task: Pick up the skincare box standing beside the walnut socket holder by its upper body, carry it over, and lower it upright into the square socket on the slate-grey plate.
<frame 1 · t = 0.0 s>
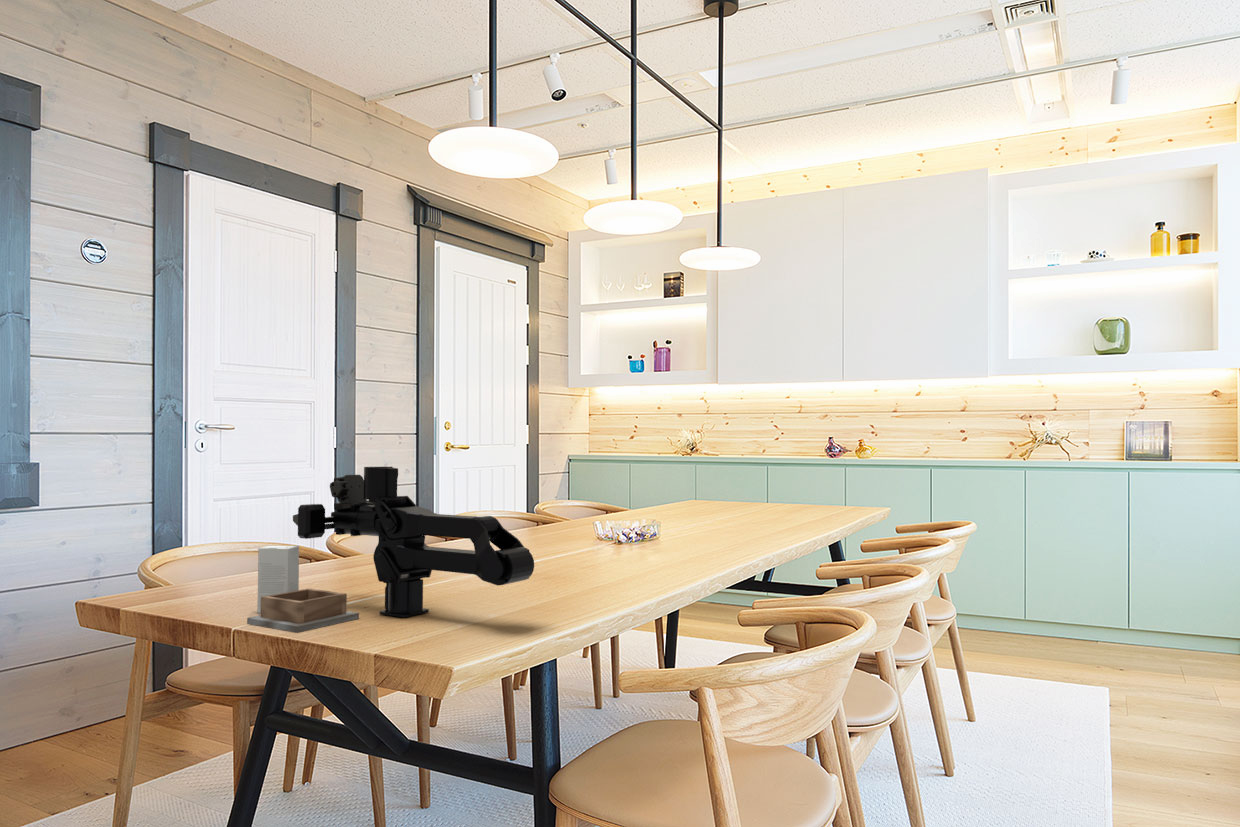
hand: (313, 516, 166), 17 cm above the table, tool horizontal, fingers open, 9 cm apart
socket holder: (303, 621, 145), on the table
skincare box: (277, 612, 153), on the table
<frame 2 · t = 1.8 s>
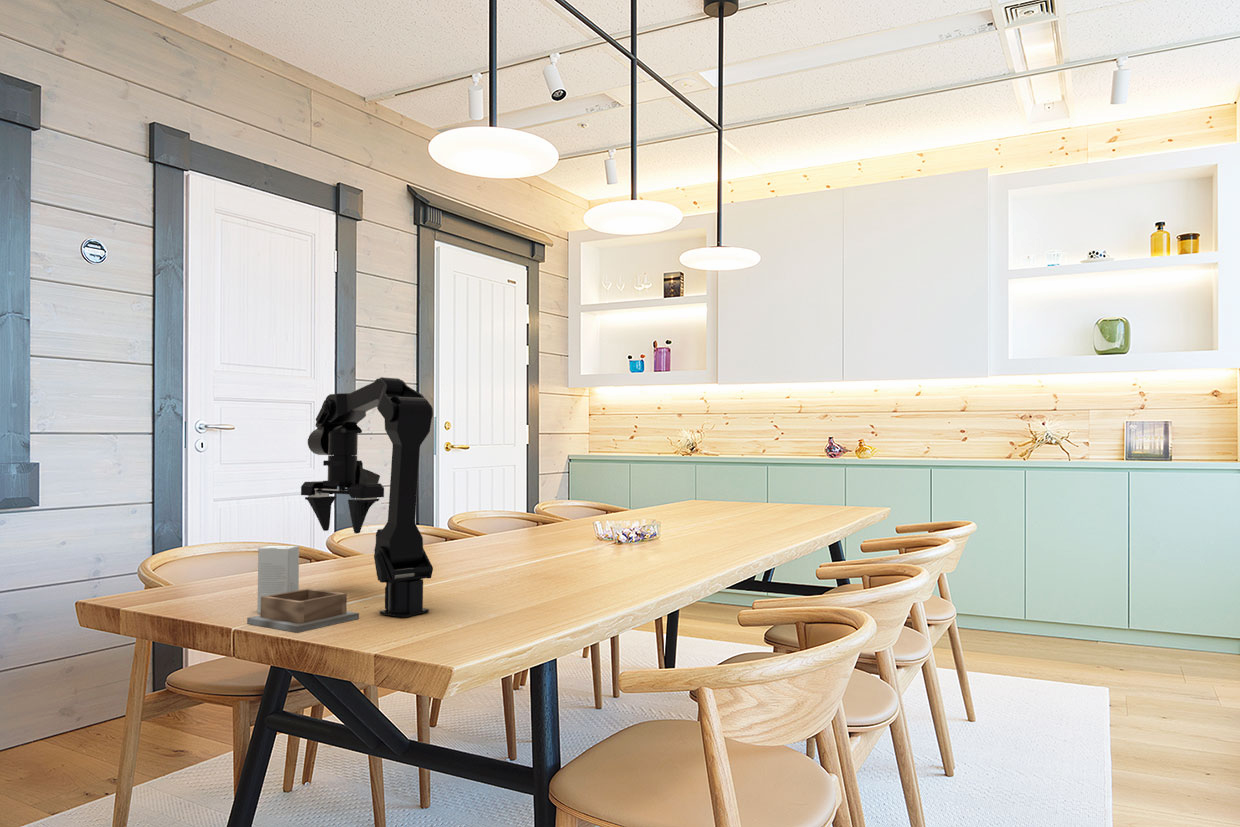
hand: (341, 532, 170), 13 cm above the table, tool pointing down, fingers open, 9 cm apart
nothing on the table moved.
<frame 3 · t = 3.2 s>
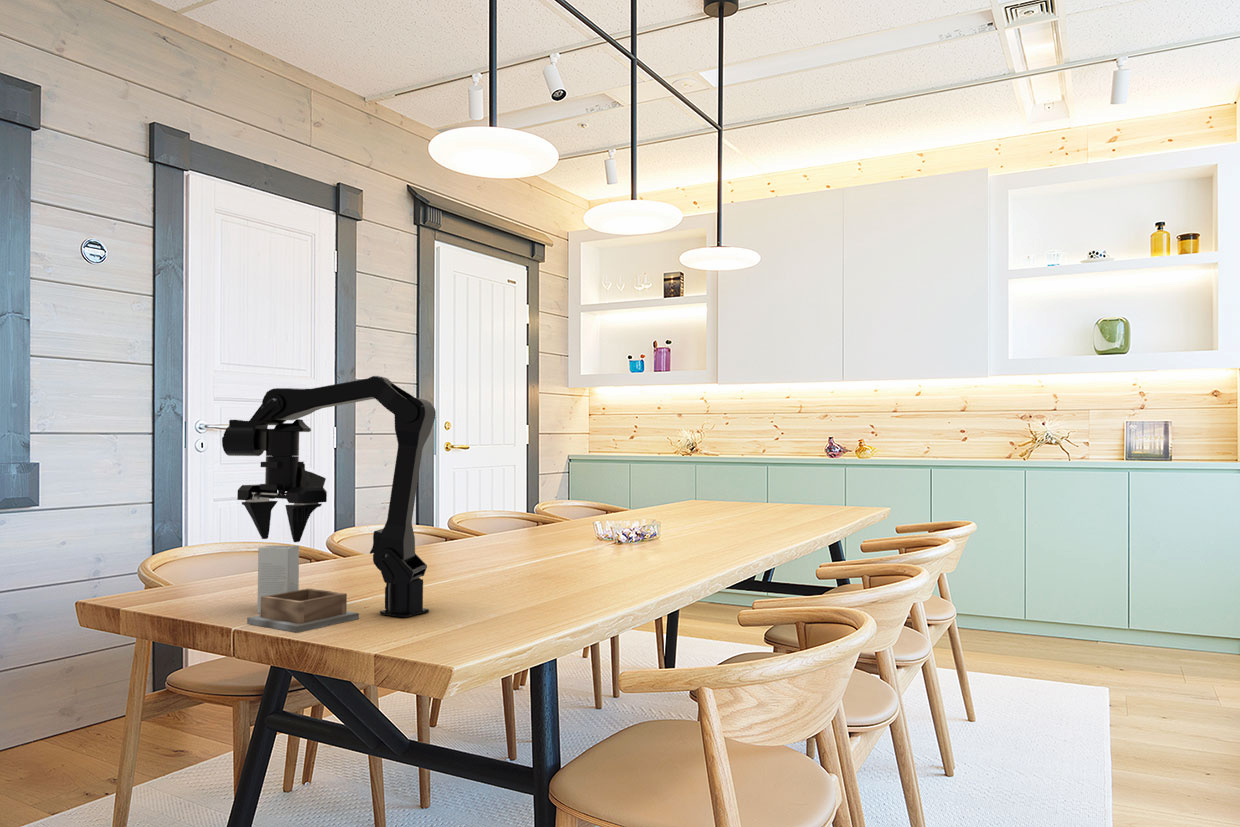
hand: (280, 540, 154), 13 cm above the table, tool pointing down, fingers open, 9 cm apart
nothing on the table moved.
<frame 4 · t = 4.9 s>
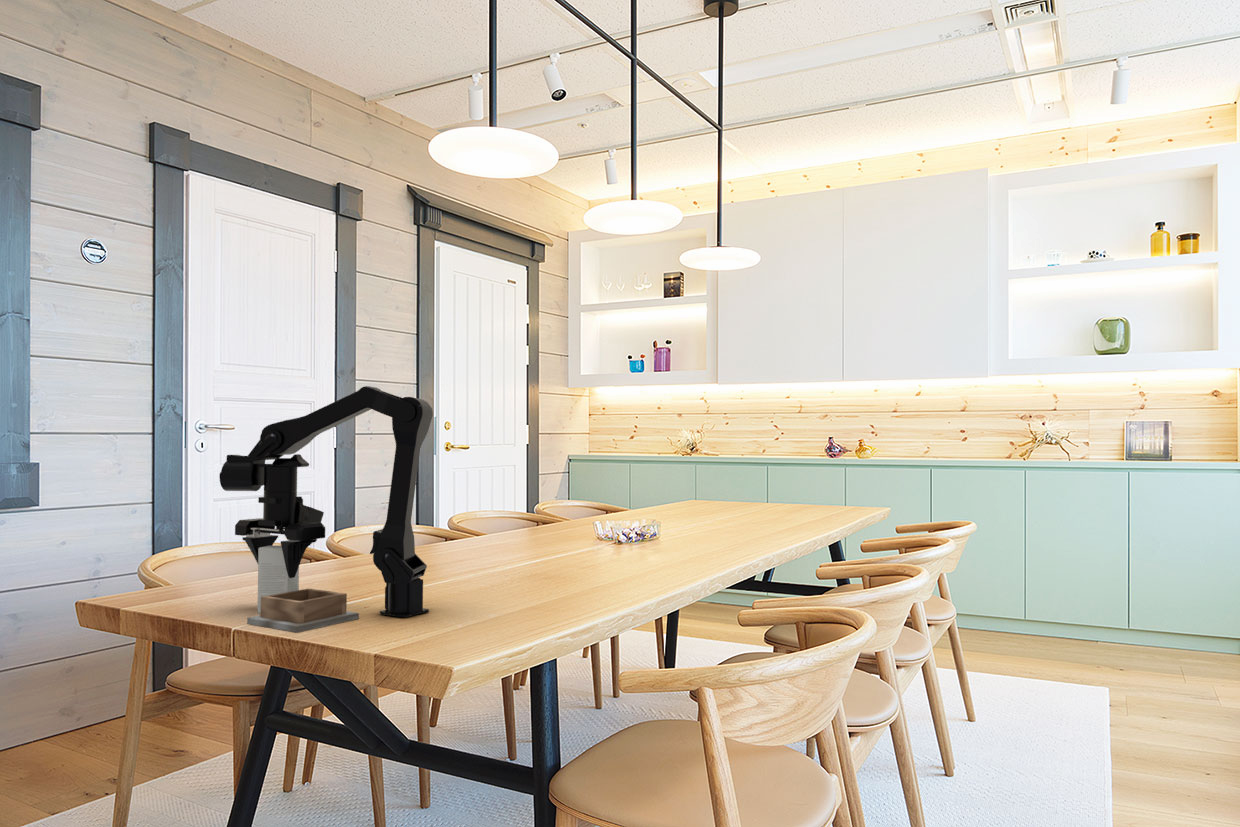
hand: (278, 576, 154), 7 cm above the table, tool pointing down, fingers closed on skincare box, 7 cm apart
skincare box: (277, 612, 153), on the table, touching gripper
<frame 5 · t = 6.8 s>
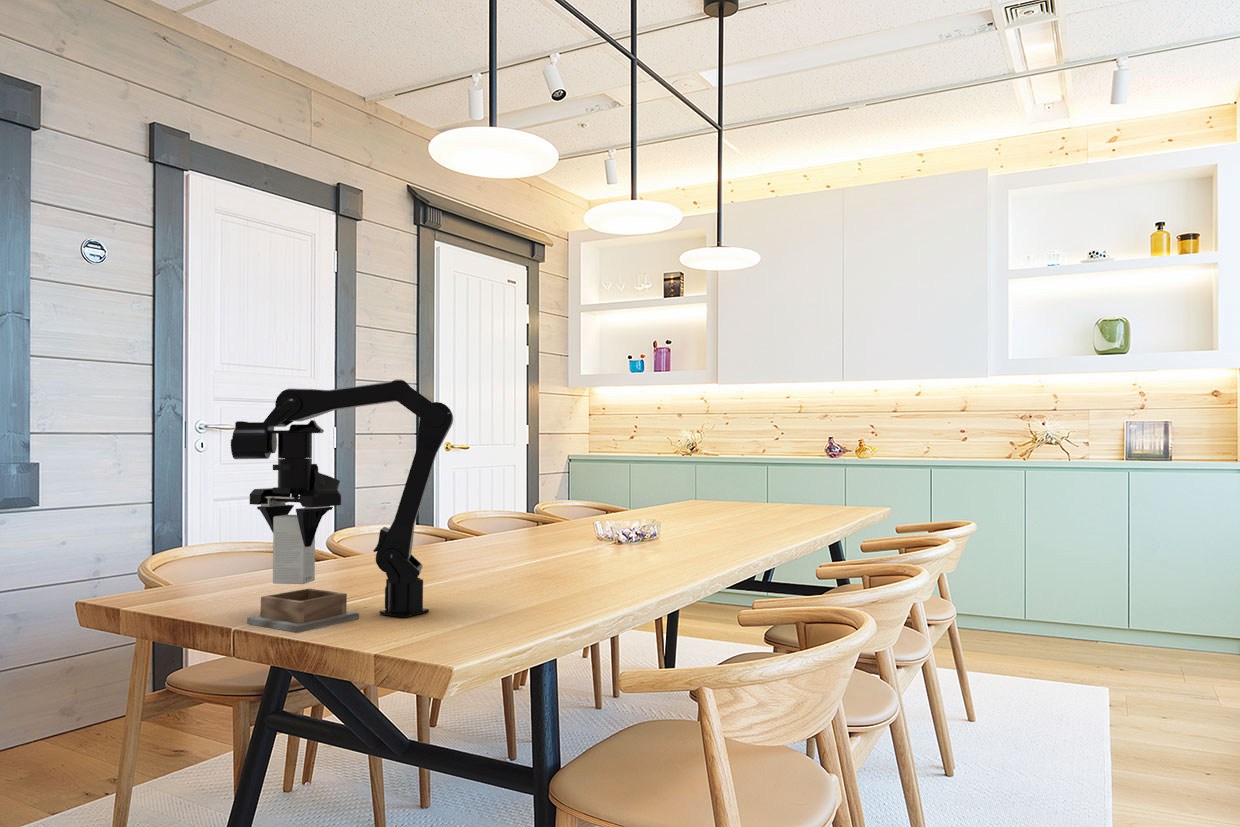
hand: (294, 545, 149), 13 cm above the table, tool pointing down, fingers closed on skincare box, 7 cm apart
skincare box: (293, 583, 149), point 6 cm above the table, touching gripper
when the fingers open (8 cm above the table, at t = 9.1 s): skincare box stays where it is, resting on socket holder.
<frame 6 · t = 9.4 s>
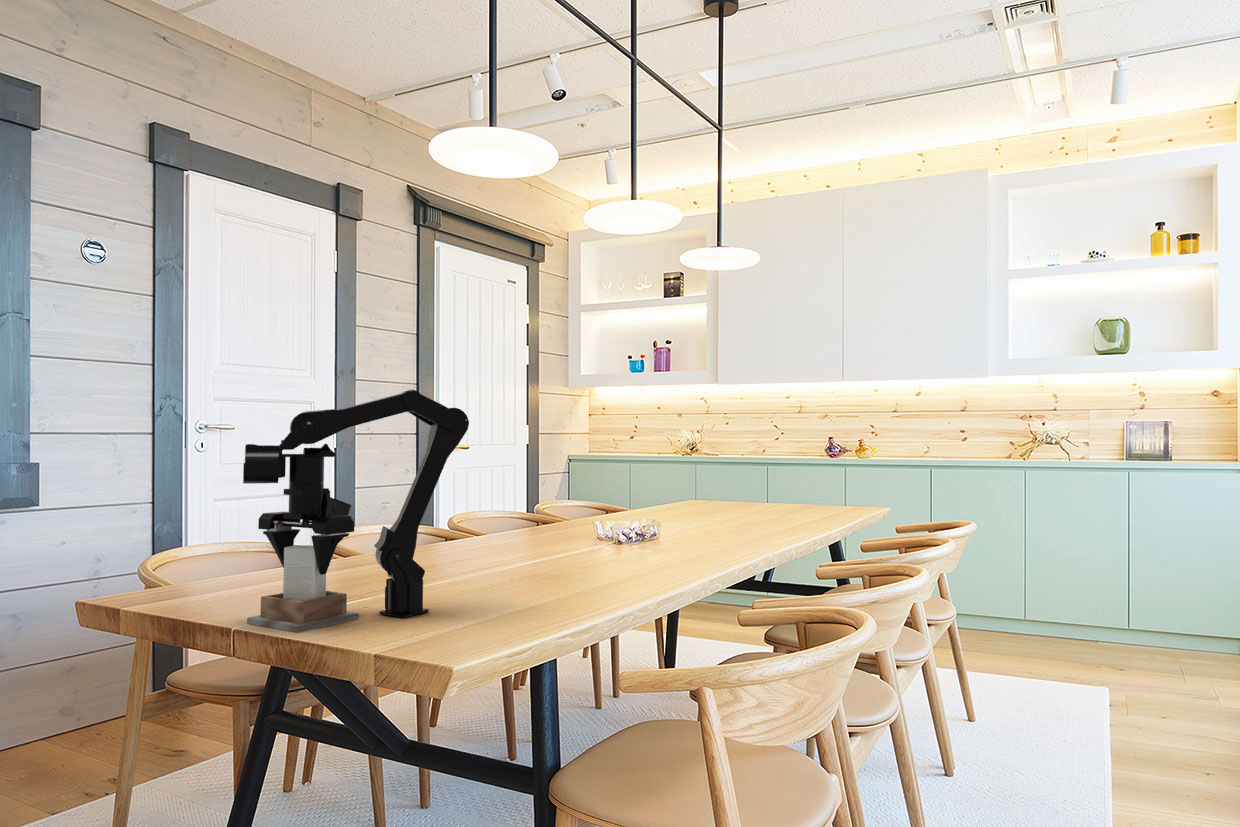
hand: (305, 572, 146), 8 cm above the table, tool pointing down, fingers open, 9 cm apart
skincare box: (304, 616, 145), point 1 cm above the table, touching socket holder
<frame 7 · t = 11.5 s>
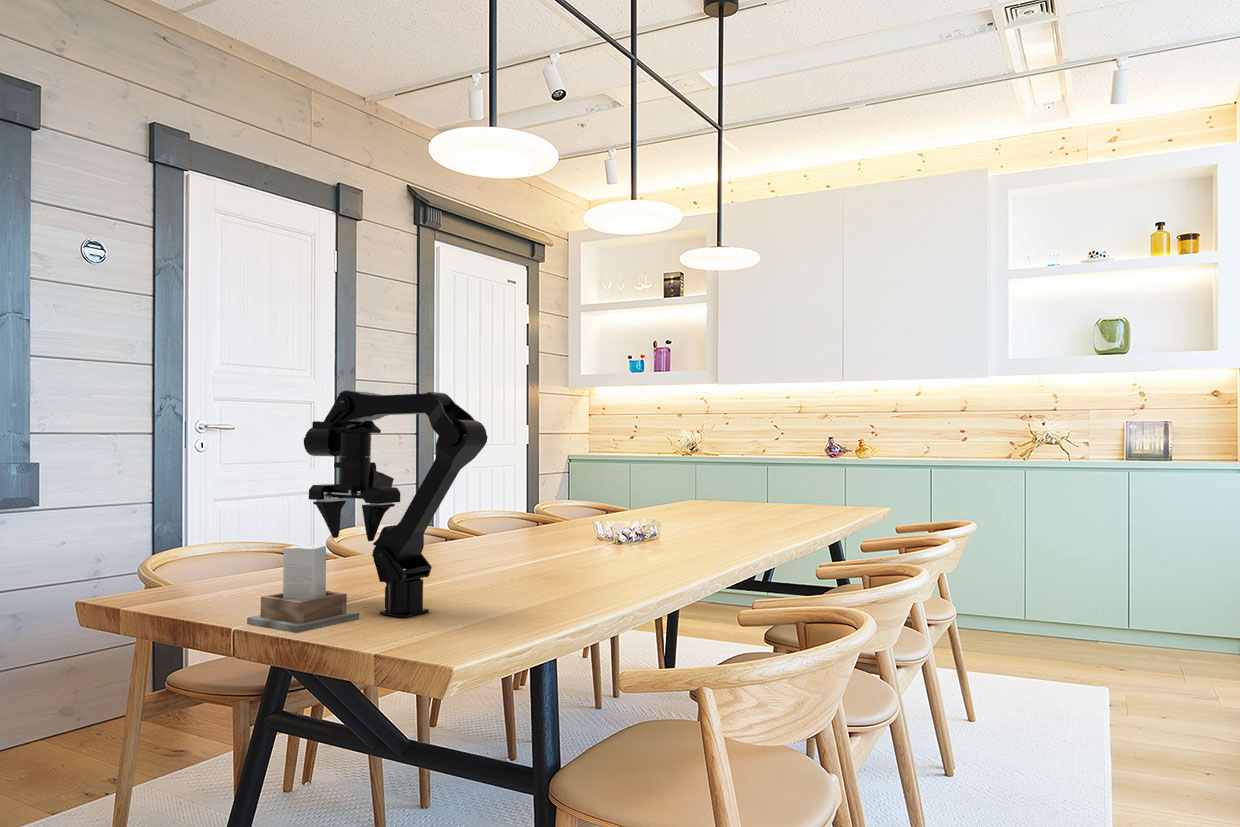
hand: (352, 539, 158), 13 cm above the table, tool pointing down, fingers open, 9 cm apart
nothing on the table moved.
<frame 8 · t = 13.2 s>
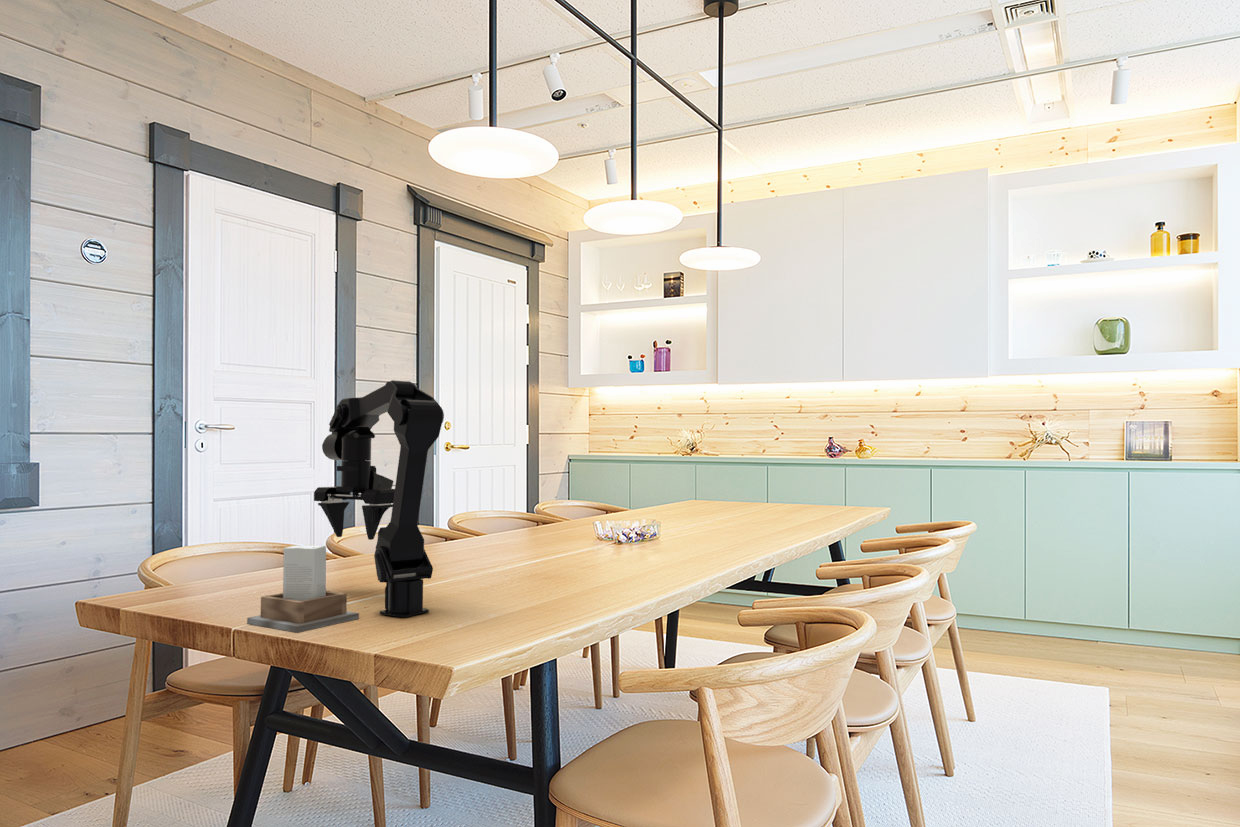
hand: (354, 538, 168), 12 cm above the table, tool pointing down, fingers open, 9 cm apart
nothing on the table moved.
at the end: skincare box 0.0 cm off-centre on the socket holder, point 0.8 cm above the socket holder's base; skincare box tilted 0°; the gripper is holding nothing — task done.
